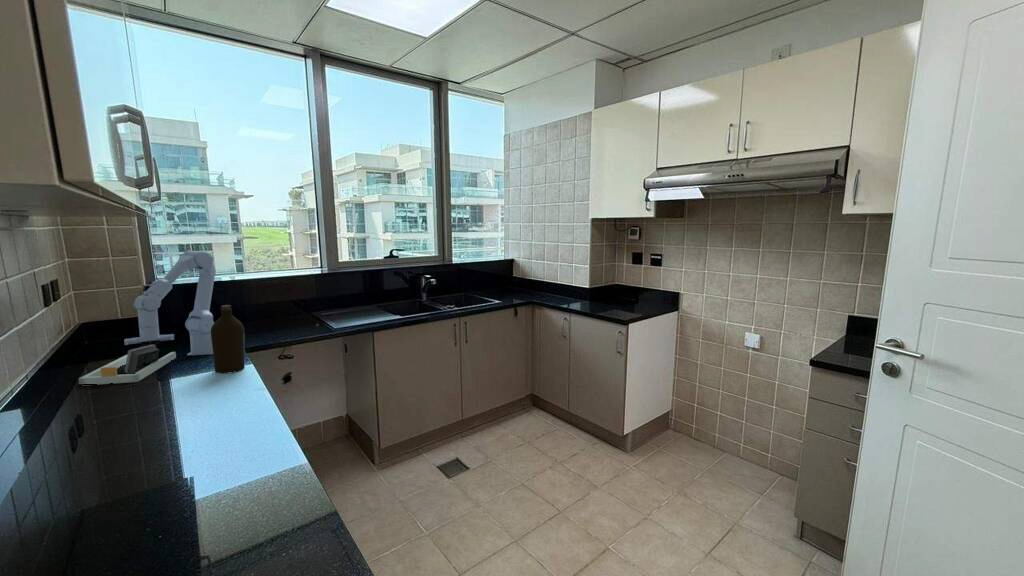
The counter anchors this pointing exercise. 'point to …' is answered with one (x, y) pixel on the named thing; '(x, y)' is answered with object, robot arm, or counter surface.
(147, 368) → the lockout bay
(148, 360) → the electrical switch
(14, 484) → the counter surface
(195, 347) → the robot arm
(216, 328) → the olive oil
